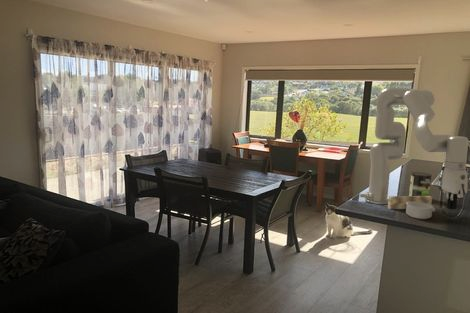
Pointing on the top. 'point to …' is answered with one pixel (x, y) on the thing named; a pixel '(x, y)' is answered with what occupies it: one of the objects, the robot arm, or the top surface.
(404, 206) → the stop board
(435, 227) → the top surface
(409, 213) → the saucepan
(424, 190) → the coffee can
